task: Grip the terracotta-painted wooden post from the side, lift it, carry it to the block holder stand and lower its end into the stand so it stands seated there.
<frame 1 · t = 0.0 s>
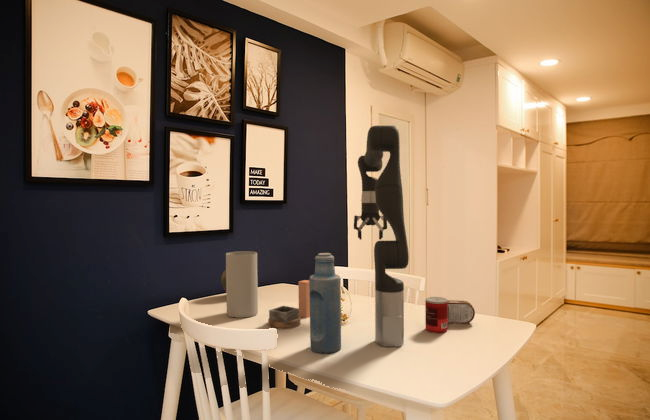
hand: (370, 239, 182), 29 cm above the table, tool pointing down, fingers open, 8 cm apart
bottle: (325, 349, 132), on the table
canned food: (436, 330, 150), on the table
cylinder vase: (242, 314, 172), on the table
post: (305, 316, 169), on the table
block holder stand: (284, 323, 158), on the table
cantaloupe: (236, 297, 203), on the table
tin: (454, 323, 159), on the table
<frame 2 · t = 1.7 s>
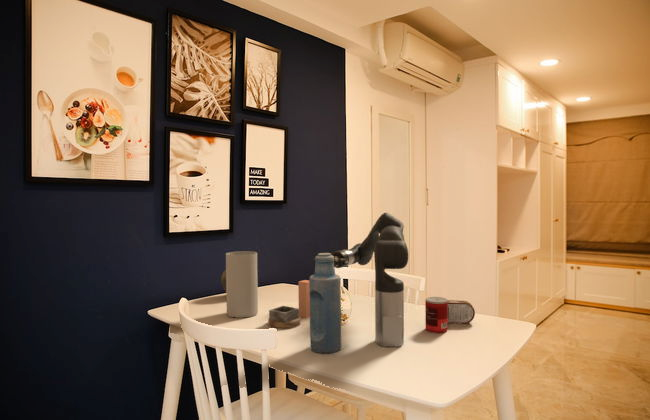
hand: (321, 263, 178), 20 cm above the table, tool horizontal, fingers open, 8 cm apart
nothing on the table moved.
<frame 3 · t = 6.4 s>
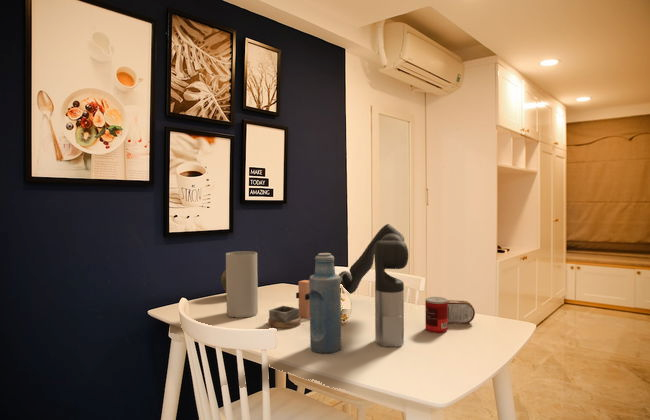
hand: (301, 296, 167), 8 cm above the table, tool horizontal, fingers closed on post, 4 cm apart
post: (305, 316, 169), on the table, touching gripper
everything else where it was.
when the fingers open (12 cm above the table, at t = 11.4 s): post drops 1 cm, resting on block holder stand.
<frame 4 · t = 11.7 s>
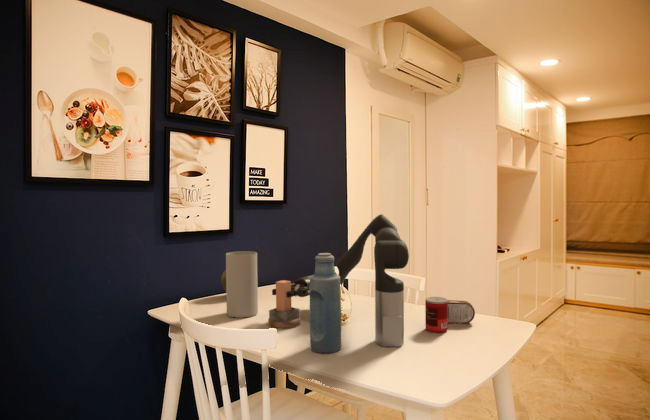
hand: (280, 293, 156), 12 cm above the table, tool horizontal, fingers open, 6 cm apart
post: (284, 318, 158), point 2 cm above the table, touching block holder stand
everything else where it was.
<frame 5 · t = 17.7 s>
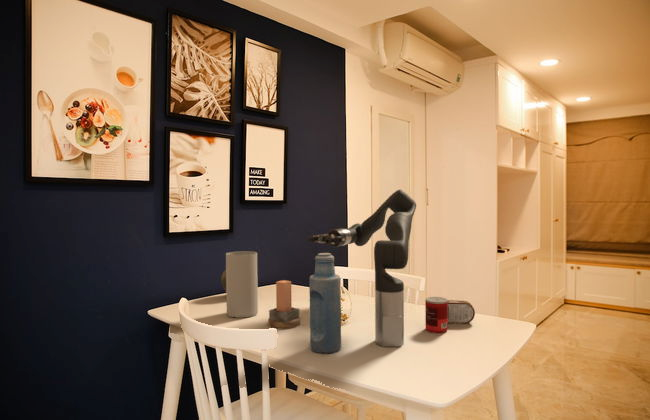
hand: (317, 240, 171), 30 cm above the table, tool horizontal, fingers open, 8 cm apart
nothing on the table moved.
at the end: post 0.1 cm off-centre on the block holder stand, point 2.0 cm above the block holder stand's base; post tilted 0°; the gripper is holding nothing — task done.
